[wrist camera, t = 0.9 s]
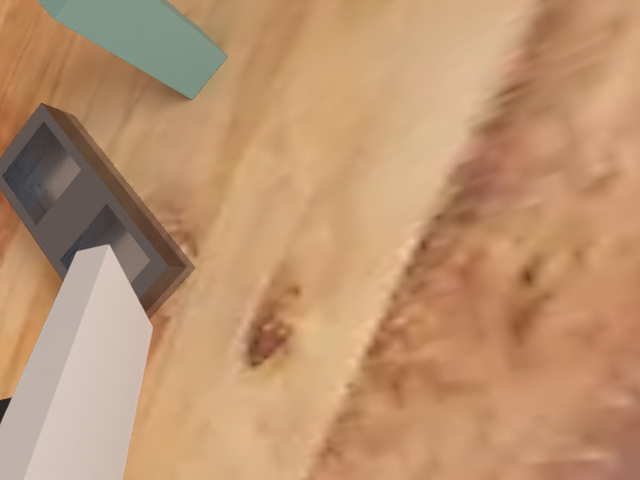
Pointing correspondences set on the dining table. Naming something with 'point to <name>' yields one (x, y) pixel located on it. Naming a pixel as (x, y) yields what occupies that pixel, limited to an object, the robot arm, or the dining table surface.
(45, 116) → the compartment tray
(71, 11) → the sage green upright block
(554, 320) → the dining table surface
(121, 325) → the robot arm
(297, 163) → the dining table surface
